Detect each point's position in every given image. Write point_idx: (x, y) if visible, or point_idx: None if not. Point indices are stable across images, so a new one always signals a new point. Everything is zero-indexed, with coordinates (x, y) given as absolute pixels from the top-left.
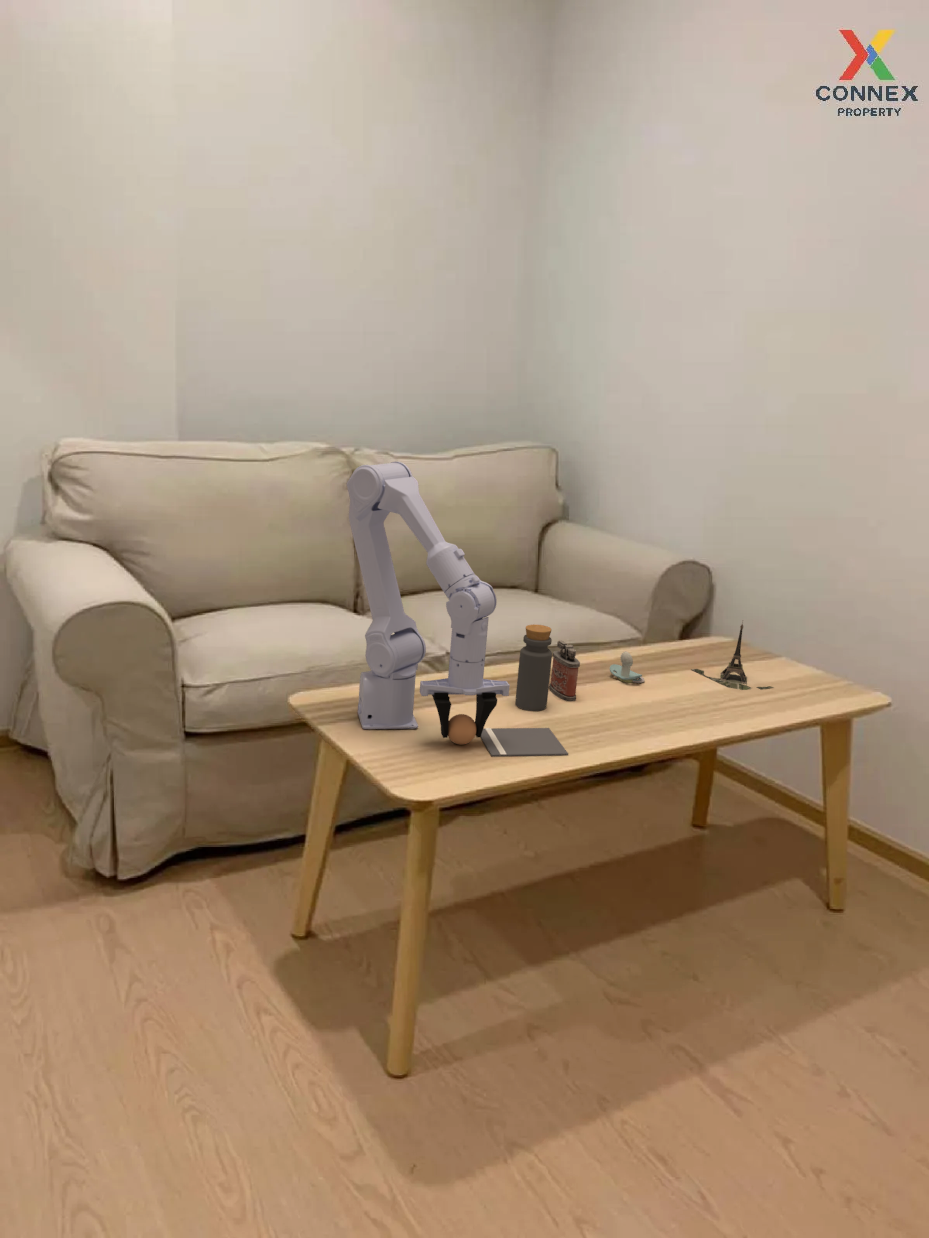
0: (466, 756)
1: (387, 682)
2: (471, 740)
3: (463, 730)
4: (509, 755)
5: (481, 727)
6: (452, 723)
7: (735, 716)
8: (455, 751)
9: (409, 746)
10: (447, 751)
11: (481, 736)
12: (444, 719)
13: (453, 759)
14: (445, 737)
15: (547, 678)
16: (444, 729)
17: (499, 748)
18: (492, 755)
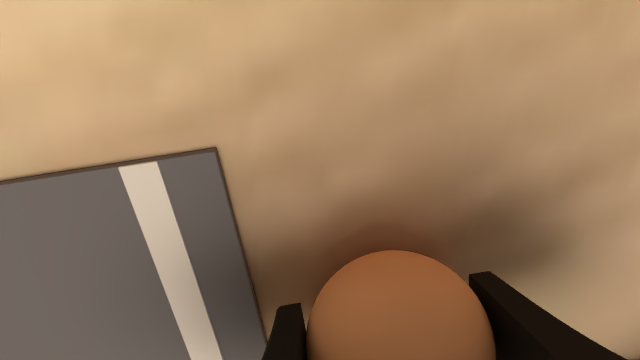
0: (366, 132)
1: None
2: (330, 278)
3: (409, 293)
4: (102, 165)
5: (279, 349)
6: (486, 348)
7: None
8: (417, 189)
9: (636, 216)
10: (461, 184)
11: None
12: (584, 349)
13: (450, 80)
14: (482, 272)
15: None
16: (525, 298)
17: (168, 237)
18: (209, 150)
